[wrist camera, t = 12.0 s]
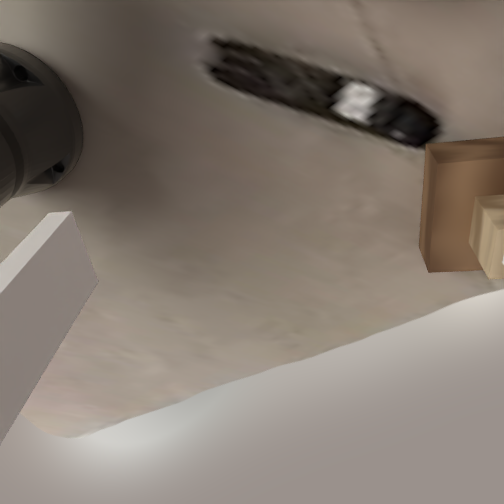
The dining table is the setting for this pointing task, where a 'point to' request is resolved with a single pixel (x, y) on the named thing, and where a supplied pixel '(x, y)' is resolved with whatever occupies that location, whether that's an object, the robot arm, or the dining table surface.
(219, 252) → the dining table surface
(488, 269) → the oak block
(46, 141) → the robot arm
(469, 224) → the walnut pedestal
